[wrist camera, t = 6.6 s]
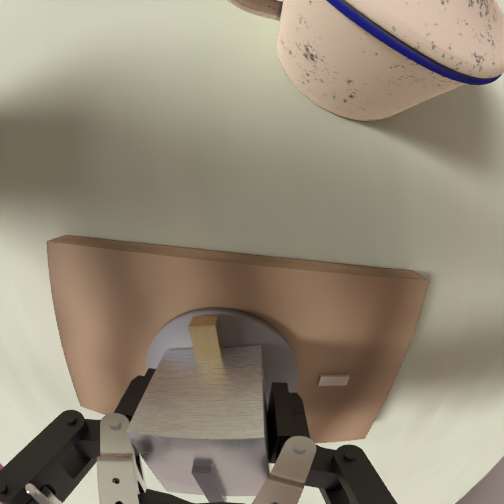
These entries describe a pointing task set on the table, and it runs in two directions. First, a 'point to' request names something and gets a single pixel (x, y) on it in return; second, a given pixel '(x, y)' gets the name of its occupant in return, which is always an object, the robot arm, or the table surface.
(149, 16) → the table surface
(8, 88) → the table surface
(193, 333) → the white block
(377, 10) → the teacup with lid
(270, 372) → the walnut base
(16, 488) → the robot arm
